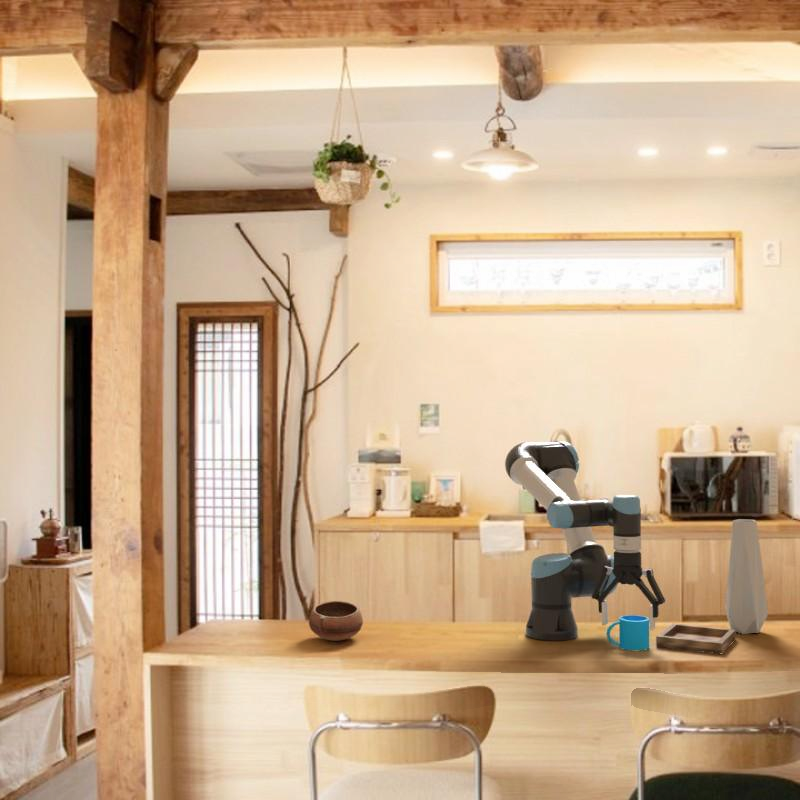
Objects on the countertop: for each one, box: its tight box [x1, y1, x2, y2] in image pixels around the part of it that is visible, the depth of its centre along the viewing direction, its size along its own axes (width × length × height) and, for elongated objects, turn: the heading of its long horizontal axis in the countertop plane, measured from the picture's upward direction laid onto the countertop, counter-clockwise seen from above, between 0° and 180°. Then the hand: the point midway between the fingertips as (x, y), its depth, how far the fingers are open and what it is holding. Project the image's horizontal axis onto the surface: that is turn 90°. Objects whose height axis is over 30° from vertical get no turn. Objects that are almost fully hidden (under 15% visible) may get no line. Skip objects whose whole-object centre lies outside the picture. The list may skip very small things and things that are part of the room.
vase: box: [724, 518, 769, 635], centre depth 314 cm, size 12×12×33 cm
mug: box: [606, 614, 650, 651], centre depth 297 cm, size 12×8×8 cm
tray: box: [655, 622, 737, 654], centre depth 301 cm, size 18×18×3 cm
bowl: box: [308, 600, 364, 642], centre depth 309 cm, size 16×16×10 cm
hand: (628, 626), depth 296 cm, fingers open, 13 cm apart
